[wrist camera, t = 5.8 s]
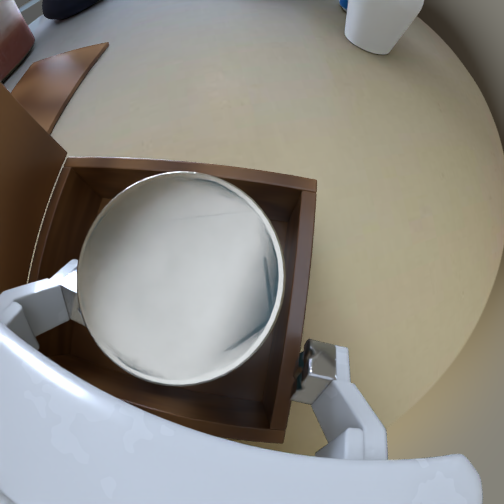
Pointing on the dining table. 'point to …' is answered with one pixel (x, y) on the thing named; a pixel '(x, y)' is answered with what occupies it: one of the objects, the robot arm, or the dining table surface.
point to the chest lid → (22, 186)
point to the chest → (220, 390)
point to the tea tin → (180, 278)
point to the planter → (12, 38)
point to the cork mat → (54, 83)
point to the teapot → (64, 7)
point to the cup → (379, 22)
